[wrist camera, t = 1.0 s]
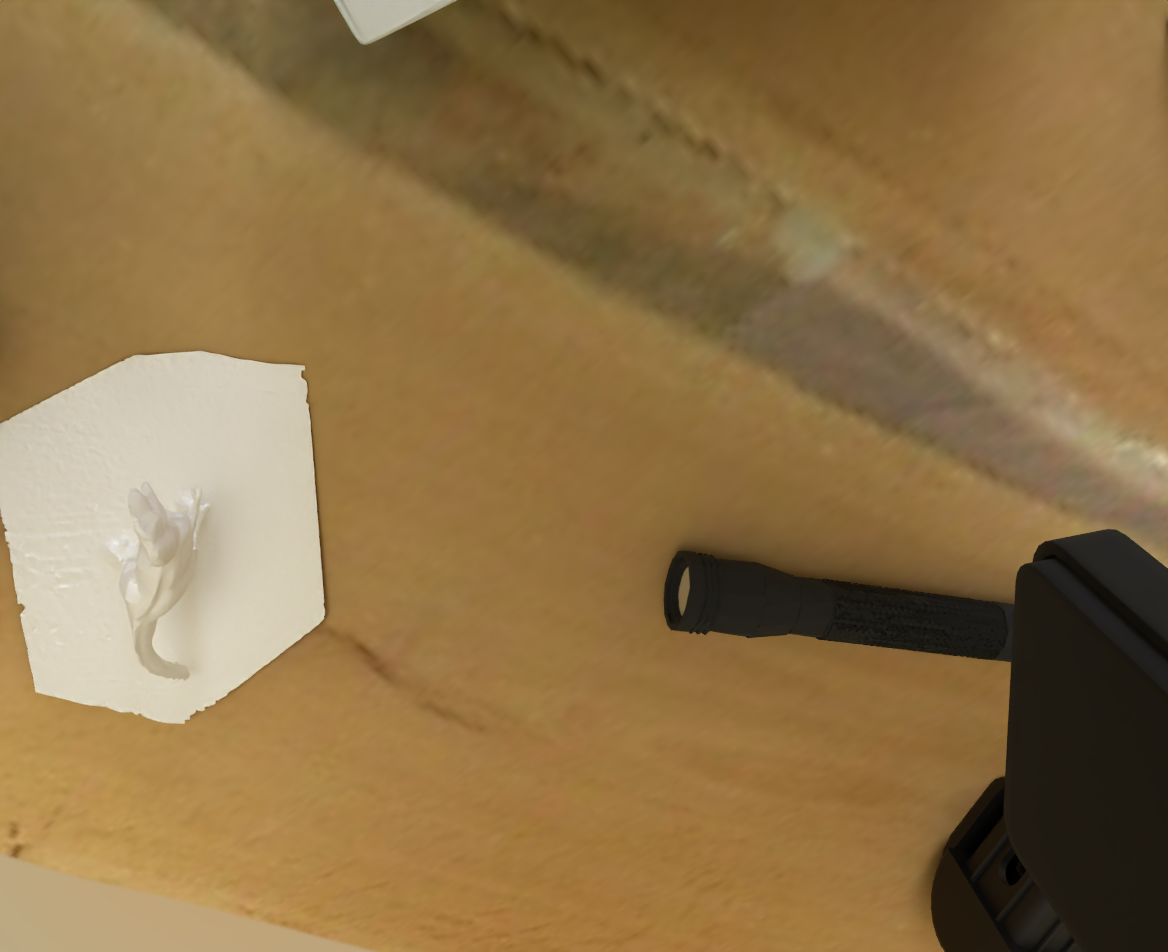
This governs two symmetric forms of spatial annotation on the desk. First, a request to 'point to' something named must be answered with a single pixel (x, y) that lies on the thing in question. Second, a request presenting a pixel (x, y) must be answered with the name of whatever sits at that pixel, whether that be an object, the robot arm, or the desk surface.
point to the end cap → (991, 890)
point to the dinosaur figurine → (163, 530)
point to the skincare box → (384, 15)
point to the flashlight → (829, 610)
